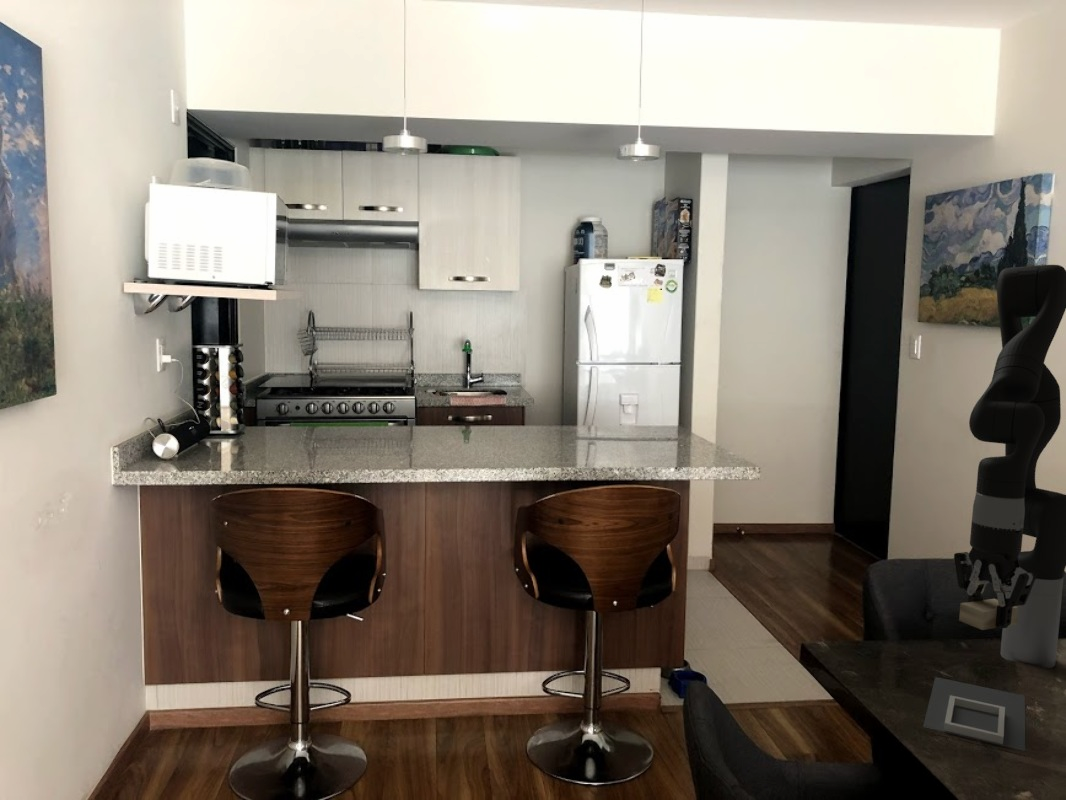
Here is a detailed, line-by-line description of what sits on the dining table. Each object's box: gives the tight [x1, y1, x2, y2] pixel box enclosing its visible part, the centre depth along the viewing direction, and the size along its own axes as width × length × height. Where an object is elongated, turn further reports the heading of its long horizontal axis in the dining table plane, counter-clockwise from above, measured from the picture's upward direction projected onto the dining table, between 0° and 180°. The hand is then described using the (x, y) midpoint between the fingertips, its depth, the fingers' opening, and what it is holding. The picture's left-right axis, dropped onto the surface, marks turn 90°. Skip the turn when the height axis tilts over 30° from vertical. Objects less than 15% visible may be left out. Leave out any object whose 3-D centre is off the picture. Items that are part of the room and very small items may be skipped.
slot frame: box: [944, 695, 1005, 744], centre depth 138 cm, size 12×8×1 cm
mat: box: [922, 676, 1026, 757], centre depth 142 cm, size 22×14×1 cm, turn 151°
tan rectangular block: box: [958, 598, 1019, 631], centre depth 144 cm, size 8×4×3 cm, turn 113°
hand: (988, 621), depth 144 cm, fingers closed on tan rectangular block, 4 cm apart
